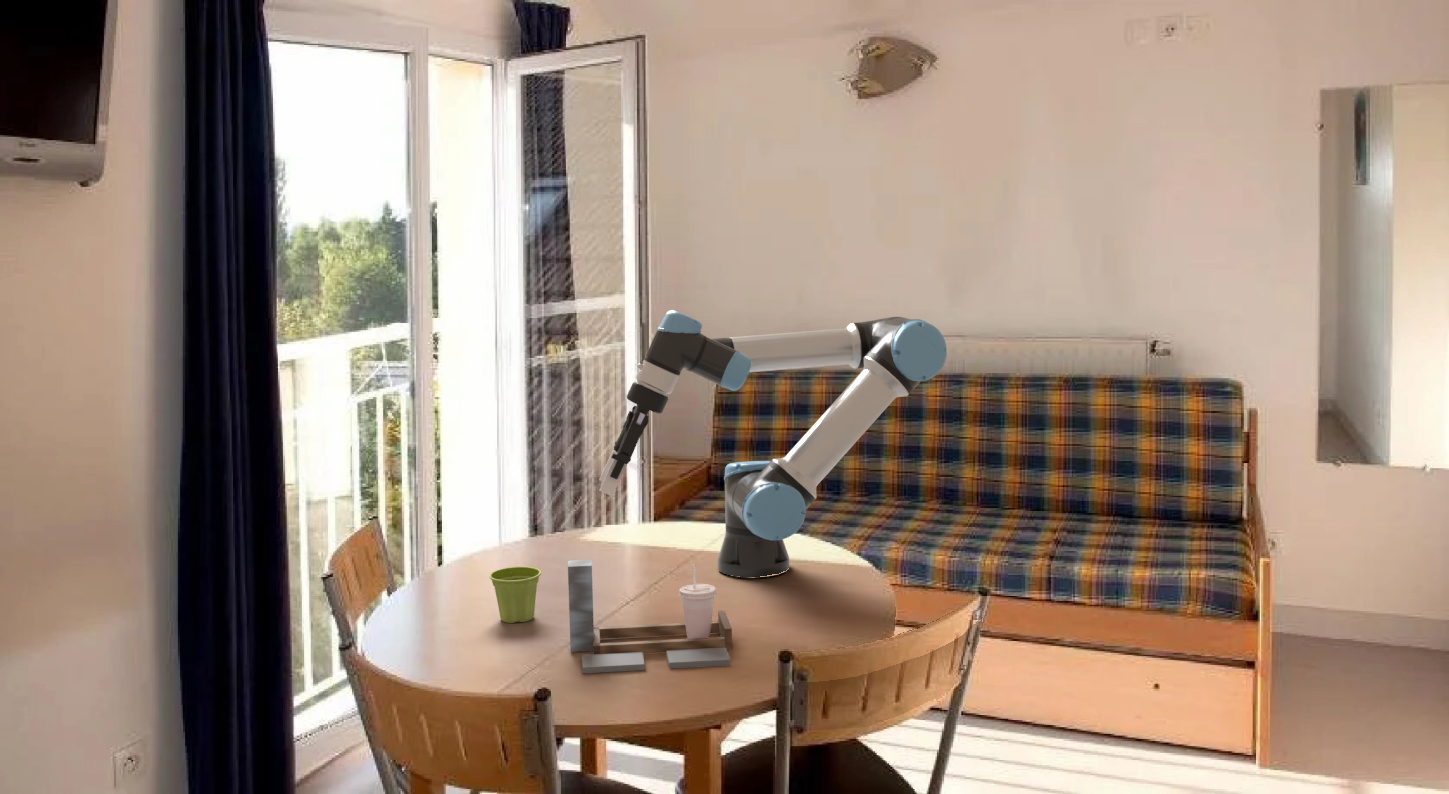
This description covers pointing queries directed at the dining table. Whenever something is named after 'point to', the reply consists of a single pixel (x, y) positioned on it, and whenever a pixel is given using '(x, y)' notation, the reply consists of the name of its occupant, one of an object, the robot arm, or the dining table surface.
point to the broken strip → (636, 660)
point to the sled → (589, 636)
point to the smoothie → (697, 607)
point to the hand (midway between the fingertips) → (605, 488)
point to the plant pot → (516, 592)
